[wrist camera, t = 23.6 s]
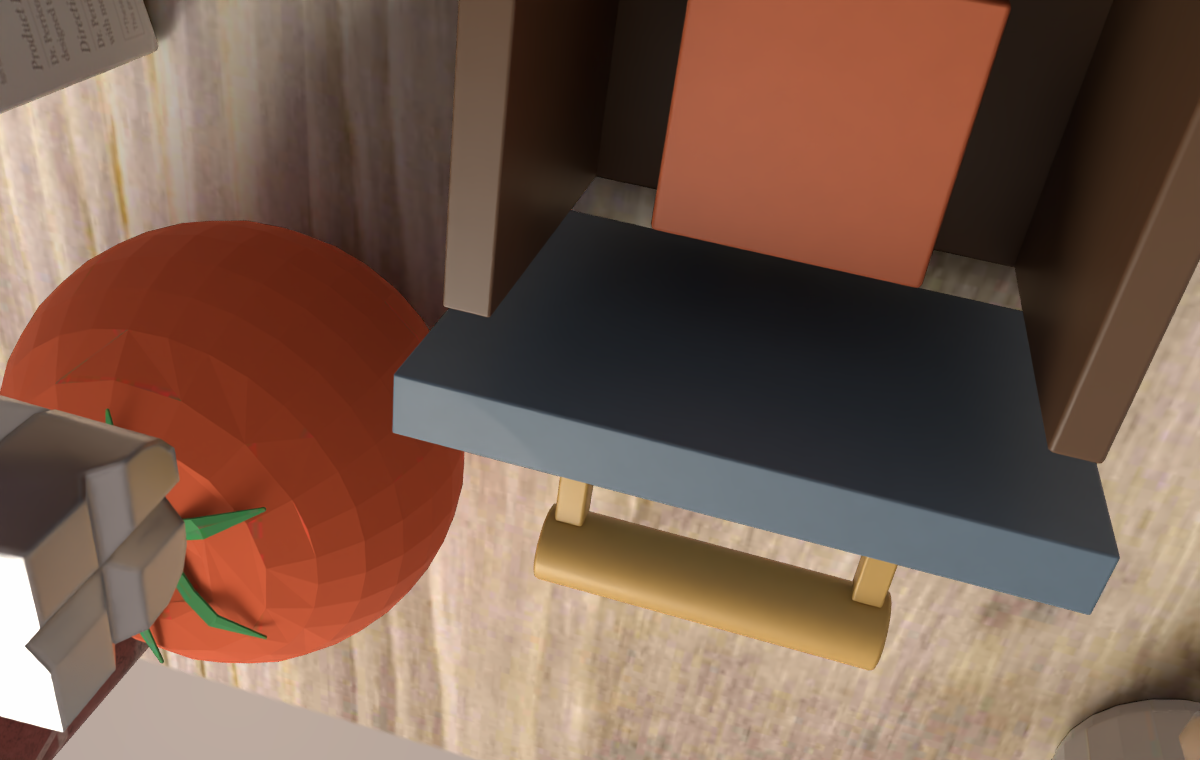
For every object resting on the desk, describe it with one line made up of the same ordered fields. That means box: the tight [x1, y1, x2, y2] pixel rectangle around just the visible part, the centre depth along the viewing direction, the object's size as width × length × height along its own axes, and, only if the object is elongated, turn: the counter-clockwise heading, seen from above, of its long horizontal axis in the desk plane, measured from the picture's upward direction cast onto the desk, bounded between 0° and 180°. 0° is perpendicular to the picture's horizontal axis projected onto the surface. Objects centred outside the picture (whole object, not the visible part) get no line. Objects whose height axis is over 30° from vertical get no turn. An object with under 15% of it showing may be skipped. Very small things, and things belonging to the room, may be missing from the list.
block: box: [651, 0, 1011, 288], centre depth 18 cm, size 4×4×4 cm
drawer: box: [392, 0, 1200, 670], centre depth 18 cm, size 18×11×8 cm, turn 173°
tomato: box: [0, 221, 464, 663], centre depth 24 cm, size 10×10×10 cm
